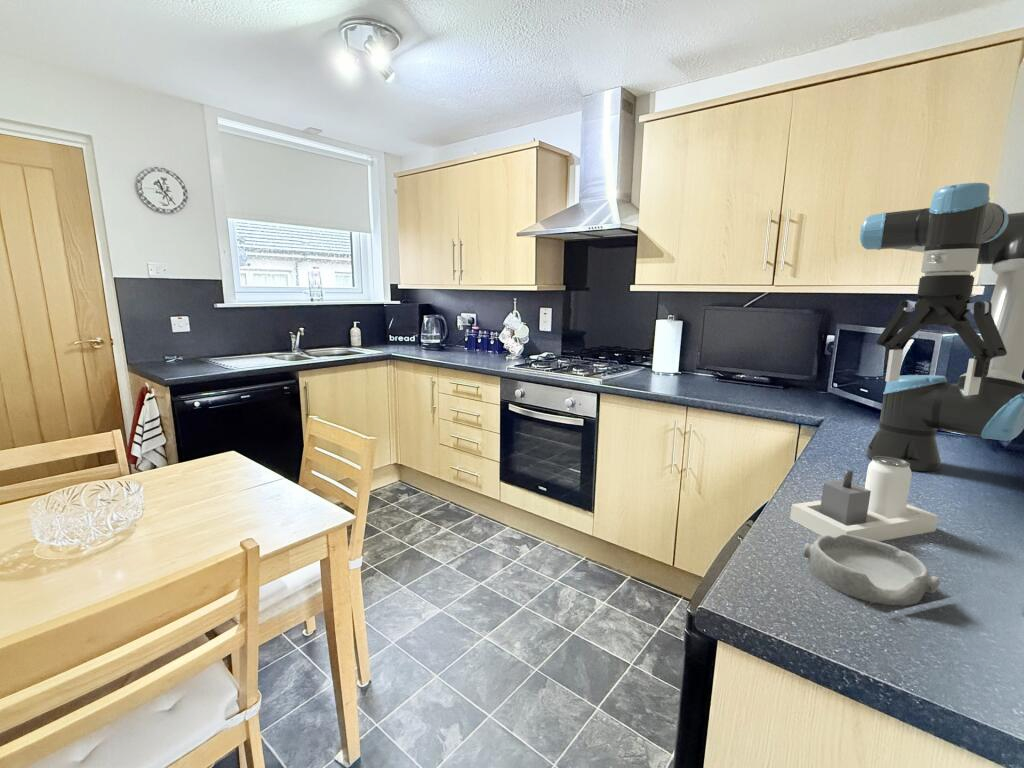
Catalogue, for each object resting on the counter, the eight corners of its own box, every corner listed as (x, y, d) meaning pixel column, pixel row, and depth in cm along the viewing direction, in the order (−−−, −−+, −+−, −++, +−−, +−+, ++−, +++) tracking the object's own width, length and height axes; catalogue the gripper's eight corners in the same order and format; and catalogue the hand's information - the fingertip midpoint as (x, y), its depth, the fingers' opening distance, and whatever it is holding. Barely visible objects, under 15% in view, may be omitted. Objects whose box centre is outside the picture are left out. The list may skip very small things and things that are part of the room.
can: (890, 515, 93) (900, 456, 91) (910, 531, 87) (921, 468, 84) (853, 512, 94) (862, 454, 92) (870, 527, 88) (880, 465, 86)
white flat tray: (874, 508, 97) (877, 492, 97) (935, 533, 87) (938, 515, 86) (789, 521, 91) (791, 504, 91) (843, 550, 81) (846, 531, 80)
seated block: (838, 520, 91) (846, 465, 89) (864, 532, 86) (873, 474, 84) (818, 523, 89) (825, 467, 87) (843, 536, 84) (852, 477, 82)
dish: (948, 607, 67) (954, 574, 66) (866, 619, 64) (872, 586, 63) (854, 553, 80) (859, 525, 80) (784, 561, 78) (788, 533, 77)
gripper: (864, 276, 98) (851, 377, 102) (1021, 271, 75) (995, 403, 79) (891, 276, 100) (877, 375, 104) (1051, 271, 77) (1025, 399, 81)
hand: (928, 387), depth 92 cm, fingers open, 13 cm apart
